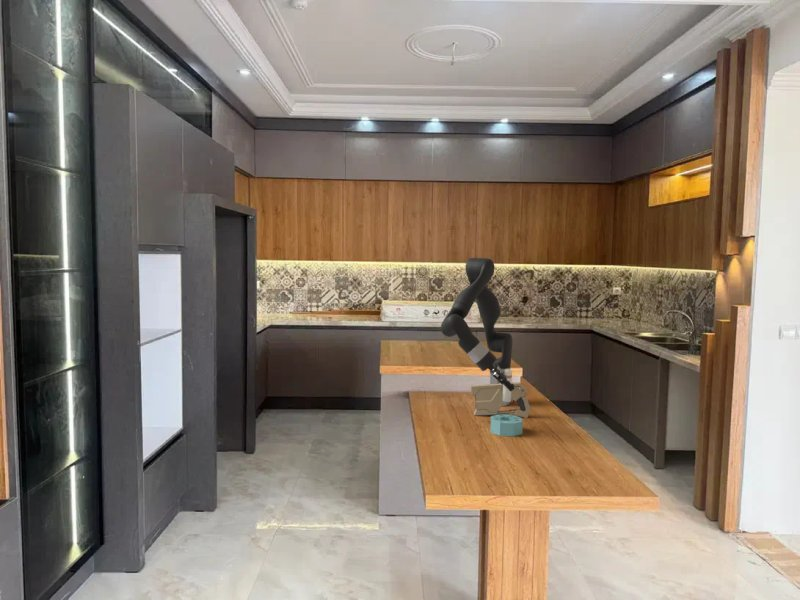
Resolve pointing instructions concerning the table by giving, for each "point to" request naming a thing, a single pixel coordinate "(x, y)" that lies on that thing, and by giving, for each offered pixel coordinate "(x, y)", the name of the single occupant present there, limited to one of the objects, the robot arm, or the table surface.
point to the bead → (506, 425)
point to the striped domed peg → (505, 390)
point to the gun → (499, 399)
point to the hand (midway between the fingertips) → (512, 388)
